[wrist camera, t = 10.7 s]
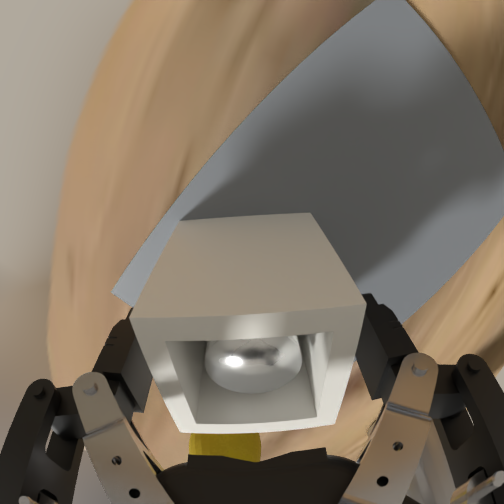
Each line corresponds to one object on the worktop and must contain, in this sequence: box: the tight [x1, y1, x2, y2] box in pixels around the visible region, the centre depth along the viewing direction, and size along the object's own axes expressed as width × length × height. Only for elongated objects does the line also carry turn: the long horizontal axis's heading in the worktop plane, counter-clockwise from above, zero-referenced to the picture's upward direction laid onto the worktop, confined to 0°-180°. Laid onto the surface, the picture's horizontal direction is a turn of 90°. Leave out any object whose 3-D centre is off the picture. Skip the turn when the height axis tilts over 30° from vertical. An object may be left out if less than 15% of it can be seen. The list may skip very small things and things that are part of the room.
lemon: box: [189, 433, 261, 462], centre depth 18 cm, size 6×6×8 cm
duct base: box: [111, 0, 504, 362], centre depth 14 cm, size 15×22×2 cm
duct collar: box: [129, 213, 367, 434], centre depth 11 cm, size 6×6×7 cm
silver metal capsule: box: [205, 335, 302, 394], centre depth 12 cm, size 3×3×6 cm
